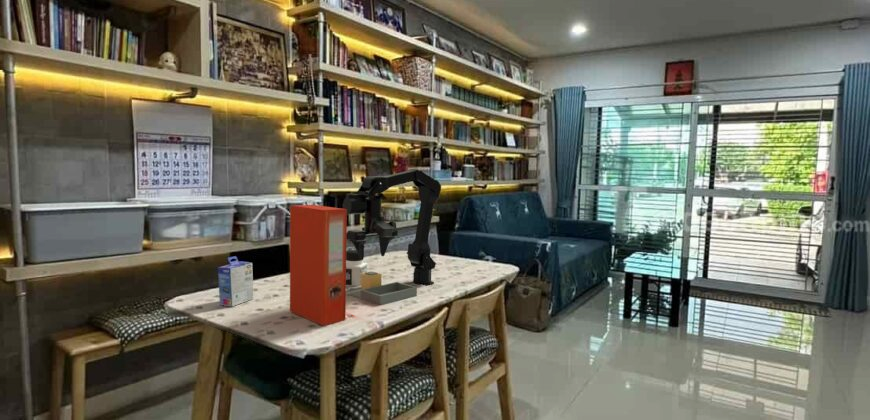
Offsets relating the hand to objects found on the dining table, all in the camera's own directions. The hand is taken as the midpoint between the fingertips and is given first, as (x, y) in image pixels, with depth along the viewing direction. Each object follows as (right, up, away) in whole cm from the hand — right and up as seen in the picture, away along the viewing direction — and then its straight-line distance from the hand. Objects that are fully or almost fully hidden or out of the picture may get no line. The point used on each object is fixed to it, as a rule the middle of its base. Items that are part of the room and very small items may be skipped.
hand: (372, 257), depth 162 cm
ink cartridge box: (-42, -13, -13) cm, 45 cm away
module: (-1, -12, +1) cm, 12 cm away
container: (-8, -11, +12) cm, 19 cm away
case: (+6, -13, -6) cm, 16 cm away
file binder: (-13, -15, -25) cm, 31 cm away
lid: (-1, -12, +1) cm, 12 cm away
